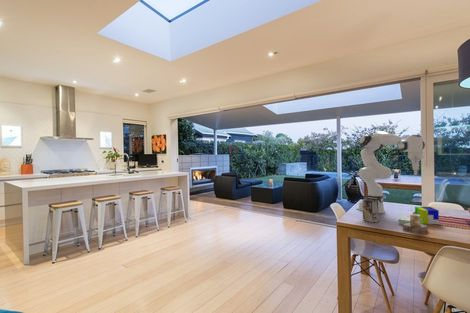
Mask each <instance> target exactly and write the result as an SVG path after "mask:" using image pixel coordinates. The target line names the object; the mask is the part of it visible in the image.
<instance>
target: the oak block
mask: <svg viewBox="0 0 470 313" xmlns="http://www.w3.org/2000/svg"><path fill="white" fill-rule="evenodd" d="M409 215H410V216H409V217H410V226H417V227H420V215H419V214H415V213H410V214H409Z"/></svg>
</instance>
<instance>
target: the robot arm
mask: <svg viewBox="0 0 470 313" xmlns="http://www.w3.org/2000/svg"><path fill="white" fill-rule="evenodd" d="M358 144H359V145H360V146H361V147H364V148H362V149H361V151H360V157H361V160H362V163H363V165H364V167H361V168H359V170H358V176H359V178H360V179H362V181H364V183H365V184H366V186H367V194H366V195H364V197H366V198H365V199H371V200H375V201H378V214H384V213H386V209H385V206H384V193H383V190H384V189H383V186H382V185H381V183H380V184H379V183H378V182H376V180H387V179H390V178H392V175H393V172H392V169H391V168H389V167H387V166H385V165H383V164H381V163H380V162H379V161H378V159H377V157H376V156H375V153H378V152H380V151H381V150H382V149H383V147H384V146H396V147H397V149H398V150H399V151H400V152H407V157H408V158H407V159H408V160H409V161H411V166H412V170H413V174H414V175H413V176H418V170H420V161H421V160H423V159H424V151H423V150H424V149H425V147H426V143H425V141H424V139H423V136H422V135H421V134H410V135H408V136H407V137H404V136H400V135H397V134H393V133H390V132H387V131H381V130H380V131H375V133H374V134H373V135H371V134H367V135H362V136H361V137H360V138H359V140H358ZM355 210H358V211H362V212H363V200H361V201H359V203H358V206H356V208H355Z"/></svg>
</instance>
